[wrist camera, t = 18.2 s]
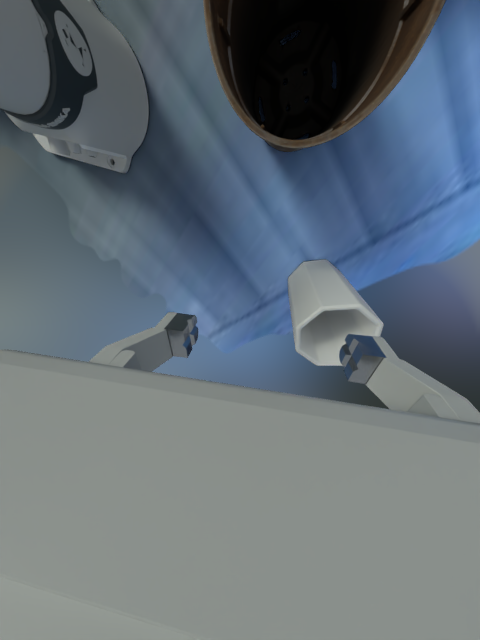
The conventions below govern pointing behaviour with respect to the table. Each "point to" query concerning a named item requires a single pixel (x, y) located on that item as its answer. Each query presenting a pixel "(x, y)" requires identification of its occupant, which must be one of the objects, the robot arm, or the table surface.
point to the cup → (326, 312)
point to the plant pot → (313, 60)
